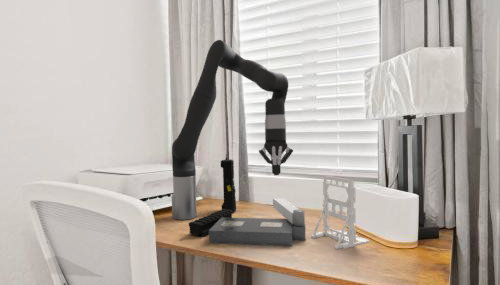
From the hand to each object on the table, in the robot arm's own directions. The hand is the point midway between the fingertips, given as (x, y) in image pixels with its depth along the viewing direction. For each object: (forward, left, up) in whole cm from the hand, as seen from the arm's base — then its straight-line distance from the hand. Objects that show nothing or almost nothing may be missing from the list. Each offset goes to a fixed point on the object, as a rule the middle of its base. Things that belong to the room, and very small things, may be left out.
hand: (276, 175), depth 121 cm
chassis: (-5, -13, -19) cm, 23 cm away
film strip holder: (+21, -13, -19) cm, 31 cm away
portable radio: (-23, +20, -19) cm, 36 cm away
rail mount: (-23, -6, -19) cm, 31 cm away
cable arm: (+4, -2, -14) cm, 15 cm away
